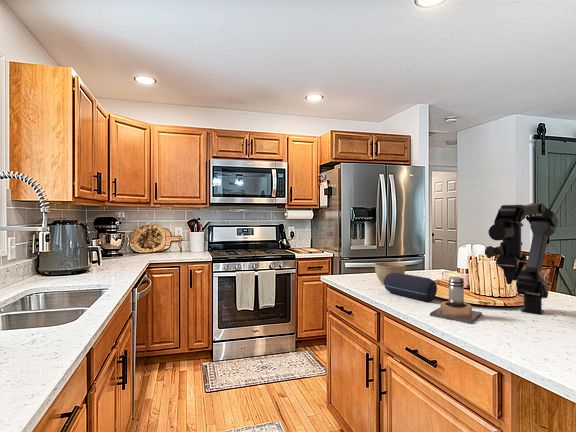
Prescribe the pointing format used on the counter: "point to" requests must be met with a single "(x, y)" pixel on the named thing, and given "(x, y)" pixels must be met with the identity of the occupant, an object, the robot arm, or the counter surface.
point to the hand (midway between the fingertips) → (511, 282)
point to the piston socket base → (456, 313)
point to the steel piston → (456, 291)
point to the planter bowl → (388, 269)
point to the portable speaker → (411, 286)
